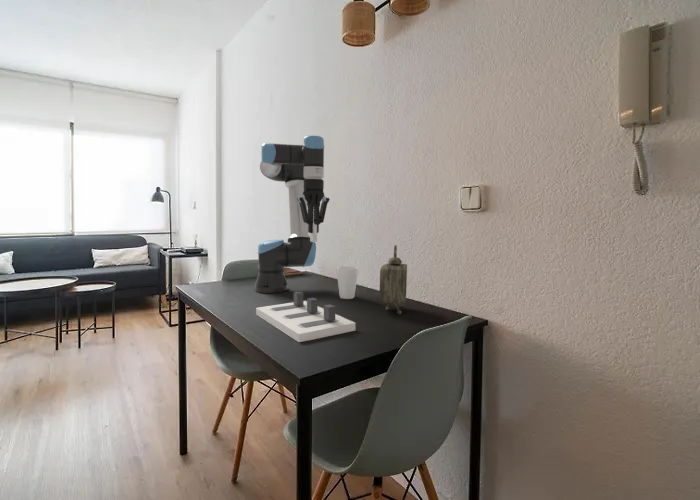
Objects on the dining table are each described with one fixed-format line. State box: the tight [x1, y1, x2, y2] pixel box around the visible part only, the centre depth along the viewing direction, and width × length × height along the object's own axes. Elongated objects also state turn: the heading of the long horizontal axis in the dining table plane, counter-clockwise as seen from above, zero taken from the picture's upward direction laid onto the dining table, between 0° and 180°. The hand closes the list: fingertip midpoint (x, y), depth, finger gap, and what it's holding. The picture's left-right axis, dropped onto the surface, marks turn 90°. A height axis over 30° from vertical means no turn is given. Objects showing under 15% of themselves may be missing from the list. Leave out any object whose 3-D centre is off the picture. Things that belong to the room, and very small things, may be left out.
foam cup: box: [335, 265, 359, 300], centre depth 165 cm, size 10×9×13 cm
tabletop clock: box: [379, 244, 408, 315], centre depth 144 cm, size 14×9×25 cm, turn 168°
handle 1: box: [293, 291, 304, 306], centre depth 140 cm, size 3×2×4 cm
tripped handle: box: [306, 297, 319, 313], centre depth 131 cm, size 3×2×4 cm
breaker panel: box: [255, 300, 356, 343], centre depth 129 cm, size 34×20×3 cm, turn 34°
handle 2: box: [323, 304, 336, 321], centre depth 122 cm, size 3×2×4 cm
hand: (313, 241), depth 145 cm, fingers closed
